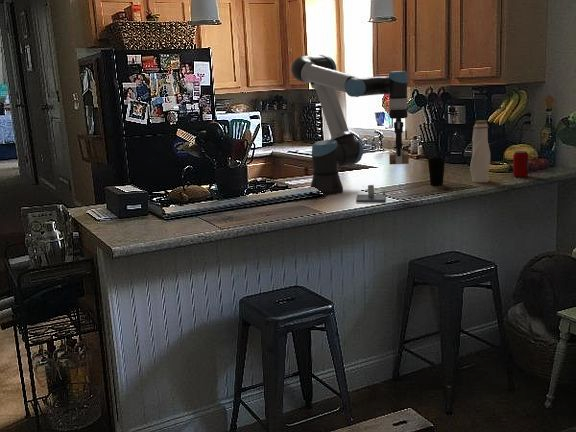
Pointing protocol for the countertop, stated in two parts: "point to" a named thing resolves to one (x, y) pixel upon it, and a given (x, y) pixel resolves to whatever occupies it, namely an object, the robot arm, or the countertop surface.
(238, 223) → the countertop surface
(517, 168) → the beverage can
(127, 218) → the countertop surface
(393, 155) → the collar
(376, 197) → the post base
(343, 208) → the countertop surface
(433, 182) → the cup
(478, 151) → the water bottle
